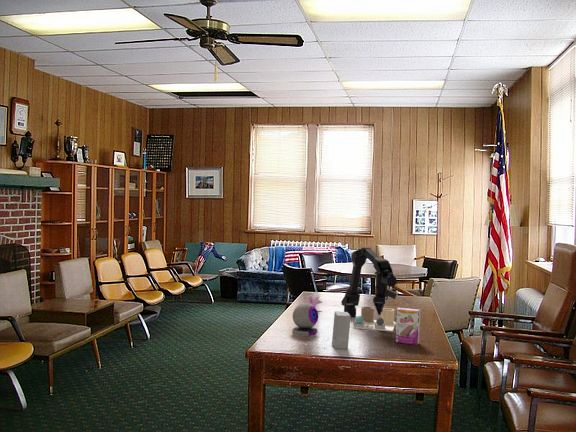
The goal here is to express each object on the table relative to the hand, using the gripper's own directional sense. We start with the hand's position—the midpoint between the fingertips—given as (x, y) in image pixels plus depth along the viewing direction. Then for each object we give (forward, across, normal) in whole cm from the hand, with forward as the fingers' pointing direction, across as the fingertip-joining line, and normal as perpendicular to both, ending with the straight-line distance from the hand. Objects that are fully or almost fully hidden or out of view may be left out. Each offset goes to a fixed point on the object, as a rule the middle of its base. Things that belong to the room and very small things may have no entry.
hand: (380, 313), depth 312 cm
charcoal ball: (+4, 0, 0) cm, 4 cm away
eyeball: (+9, -23, +35) cm, 43 cm away
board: (+8, +8, +3) cm, 12 cm away
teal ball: (+4, 0, +11) cm, 12 cm away
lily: (+9, +34, +44) cm, 57 cm away
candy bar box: (+9, -25, -16) cm, 30 cm away
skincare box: (+9, -44, +13) cm, 46 cm away
